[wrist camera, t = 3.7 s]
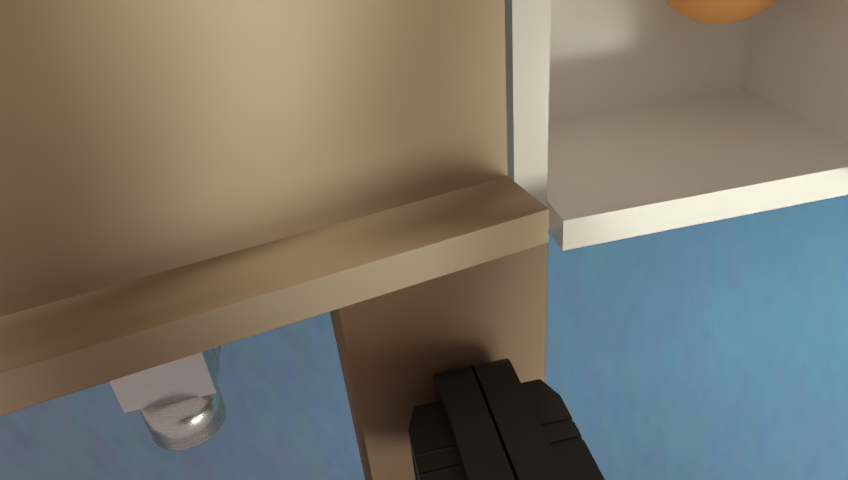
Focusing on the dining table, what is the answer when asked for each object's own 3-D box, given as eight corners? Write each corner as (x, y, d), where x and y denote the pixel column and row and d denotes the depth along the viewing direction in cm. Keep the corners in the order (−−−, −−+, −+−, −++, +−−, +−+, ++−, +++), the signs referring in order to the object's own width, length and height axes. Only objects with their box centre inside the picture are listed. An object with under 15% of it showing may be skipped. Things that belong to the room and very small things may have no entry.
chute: (421, -195, 12) (558, -221, 8) (460, 343, 19) (543, 458, 15) (-742, -91, 7) (-1534, -48, 4) (-134, 552, 14) (-216, 781, 11)
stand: (209, -327, 13) (140, -554, 6) (315, 202, 19) (347, 412, 12) (-115, -307, 12) (-682, -538, 5) (109, 238, 19) (12, 487, 11)
